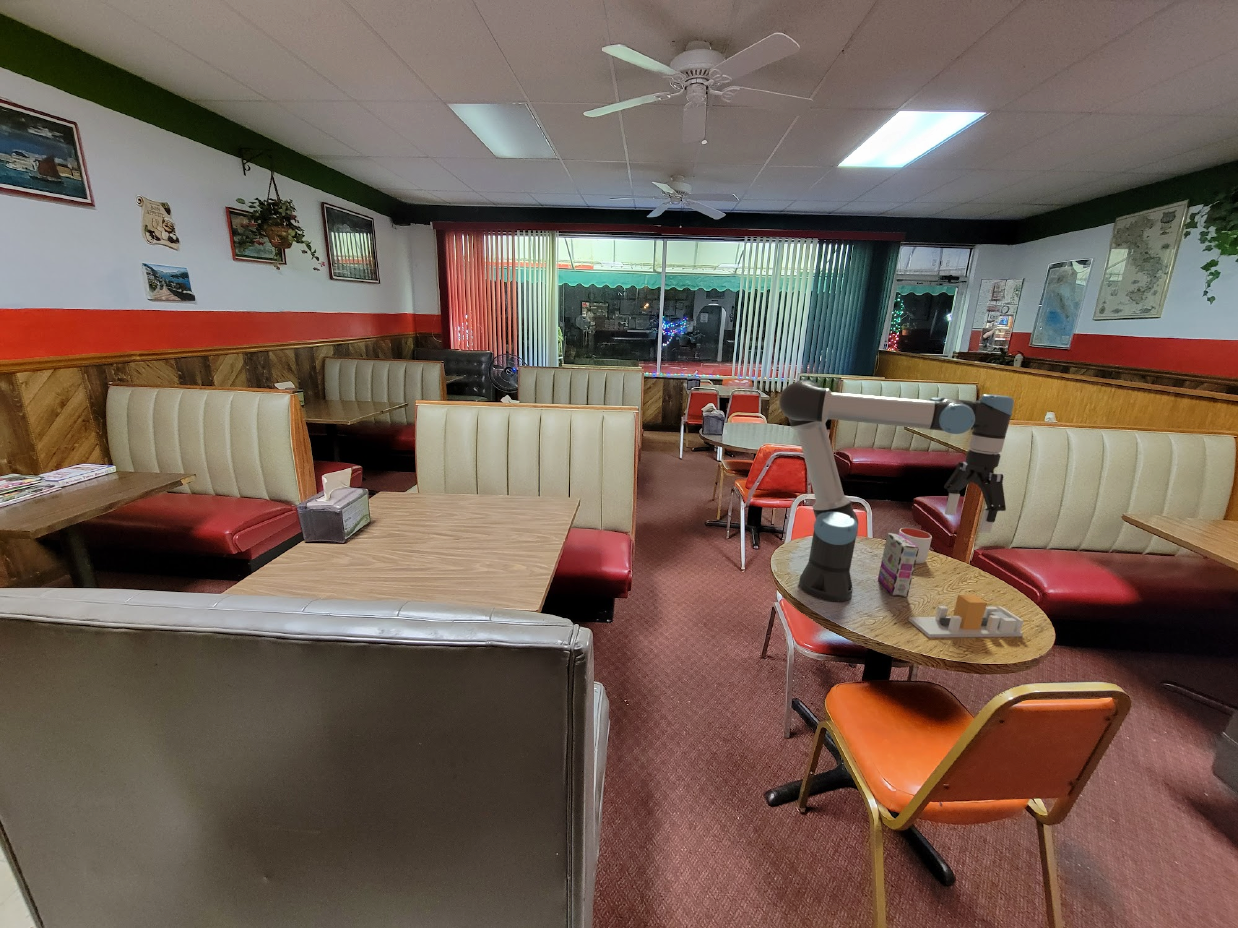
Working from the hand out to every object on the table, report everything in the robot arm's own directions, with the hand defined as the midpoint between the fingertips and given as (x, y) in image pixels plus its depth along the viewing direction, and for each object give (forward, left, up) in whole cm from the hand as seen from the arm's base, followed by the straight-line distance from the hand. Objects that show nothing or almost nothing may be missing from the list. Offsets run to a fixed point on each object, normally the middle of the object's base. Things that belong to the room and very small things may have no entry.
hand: (966, 522), depth 140 cm
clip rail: (-6, -14, -25) cm, 29 cm away
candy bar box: (-12, +8, -26) cm, 29 cm away
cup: (+9, +29, -26) cm, 40 cm away
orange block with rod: (-4, -14, -24) cm, 28 cm away
